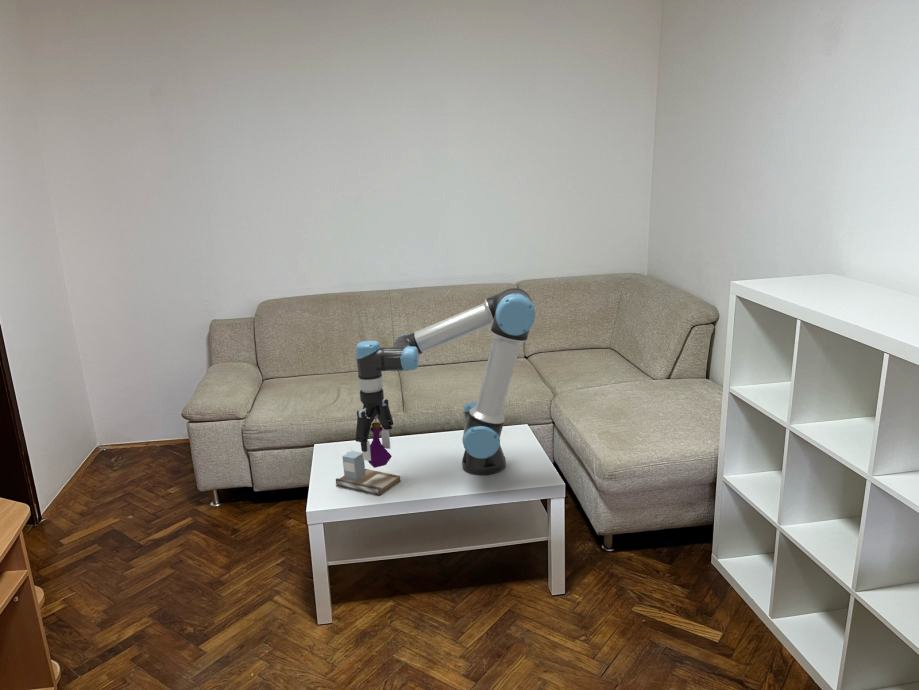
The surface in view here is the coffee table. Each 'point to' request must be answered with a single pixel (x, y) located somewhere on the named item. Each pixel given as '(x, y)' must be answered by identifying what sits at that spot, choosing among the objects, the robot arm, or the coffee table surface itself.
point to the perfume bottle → (378, 447)
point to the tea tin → (353, 465)
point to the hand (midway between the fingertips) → (376, 453)
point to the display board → (370, 482)
